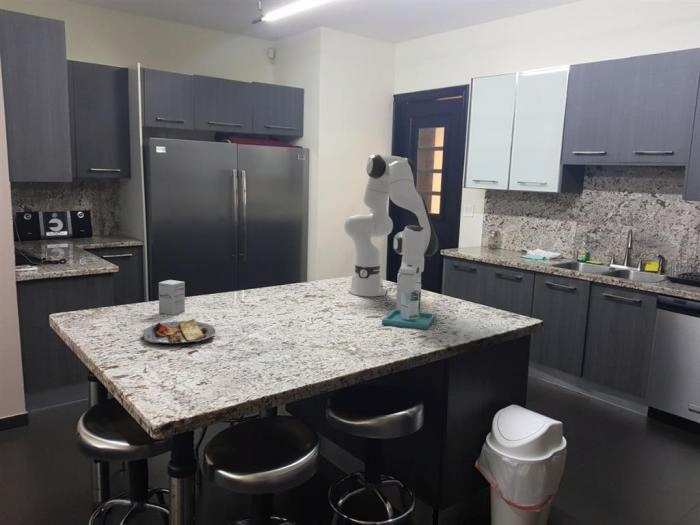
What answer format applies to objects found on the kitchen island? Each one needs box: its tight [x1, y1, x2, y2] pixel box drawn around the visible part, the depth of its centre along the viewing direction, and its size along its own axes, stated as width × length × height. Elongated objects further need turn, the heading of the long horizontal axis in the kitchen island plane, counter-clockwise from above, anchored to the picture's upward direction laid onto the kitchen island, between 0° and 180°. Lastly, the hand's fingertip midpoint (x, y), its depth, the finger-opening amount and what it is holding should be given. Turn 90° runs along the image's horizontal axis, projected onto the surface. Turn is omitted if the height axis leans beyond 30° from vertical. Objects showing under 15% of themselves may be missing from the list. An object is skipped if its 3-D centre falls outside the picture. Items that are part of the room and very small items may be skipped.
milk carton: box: [395, 269, 402, 310], centre depth 234 cm, size 7×7×19 cm
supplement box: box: [158, 279, 186, 316], centre depth 214 cm, size 7×7×13 cm
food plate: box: [142, 318, 217, 345], centre depth 185 cm, size 25×23×4 cm
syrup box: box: [401, 282, 422, 320], centre depth 213 cm, size 6×6×14 cm
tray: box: [381, 308, 437, 331], centre depth 214 cm, size 18×18×2 cm
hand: (410, 300), depth 213 cm, fingers closed on syrup box, 8 cm apart
